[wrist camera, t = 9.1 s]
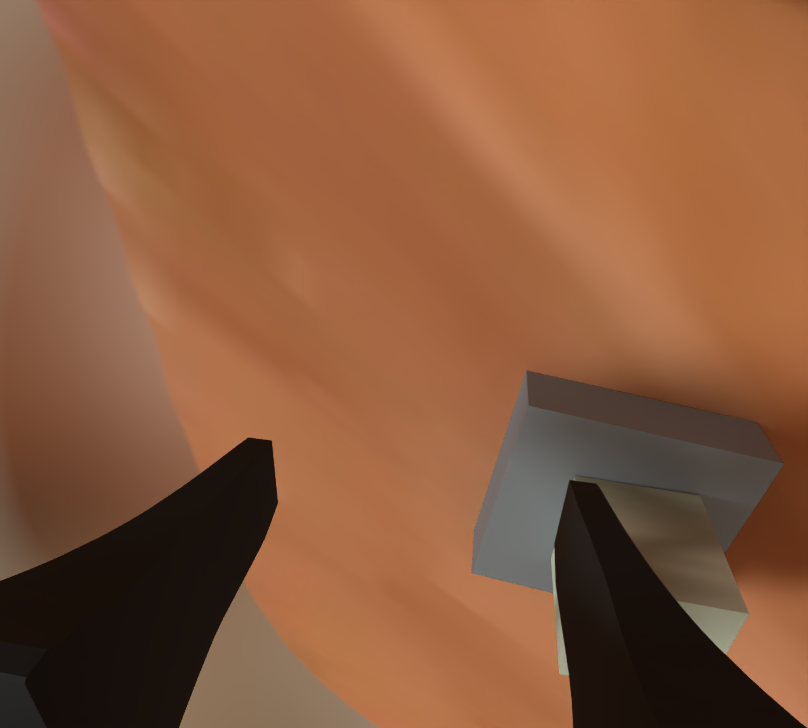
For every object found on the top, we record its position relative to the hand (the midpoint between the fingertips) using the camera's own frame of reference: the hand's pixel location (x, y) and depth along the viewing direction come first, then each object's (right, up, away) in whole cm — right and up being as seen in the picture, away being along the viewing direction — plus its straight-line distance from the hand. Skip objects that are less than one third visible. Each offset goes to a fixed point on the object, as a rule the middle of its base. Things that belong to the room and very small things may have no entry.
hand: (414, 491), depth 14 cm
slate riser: (+8, -2, +11) cm, 14 cm away
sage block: (+8, -3, +8) cm, 12 cm away
